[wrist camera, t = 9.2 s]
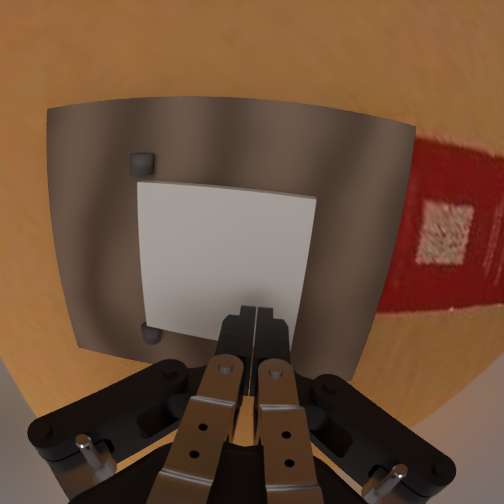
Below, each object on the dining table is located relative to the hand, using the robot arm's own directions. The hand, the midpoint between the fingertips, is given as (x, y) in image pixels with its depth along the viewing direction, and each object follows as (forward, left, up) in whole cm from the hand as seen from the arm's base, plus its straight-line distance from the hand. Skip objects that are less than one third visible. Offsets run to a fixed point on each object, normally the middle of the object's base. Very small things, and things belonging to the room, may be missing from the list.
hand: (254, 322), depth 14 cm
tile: (+2, 0, -4) cm, 5 cm away
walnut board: (+3, 0, -7) cm, 8 cm away
